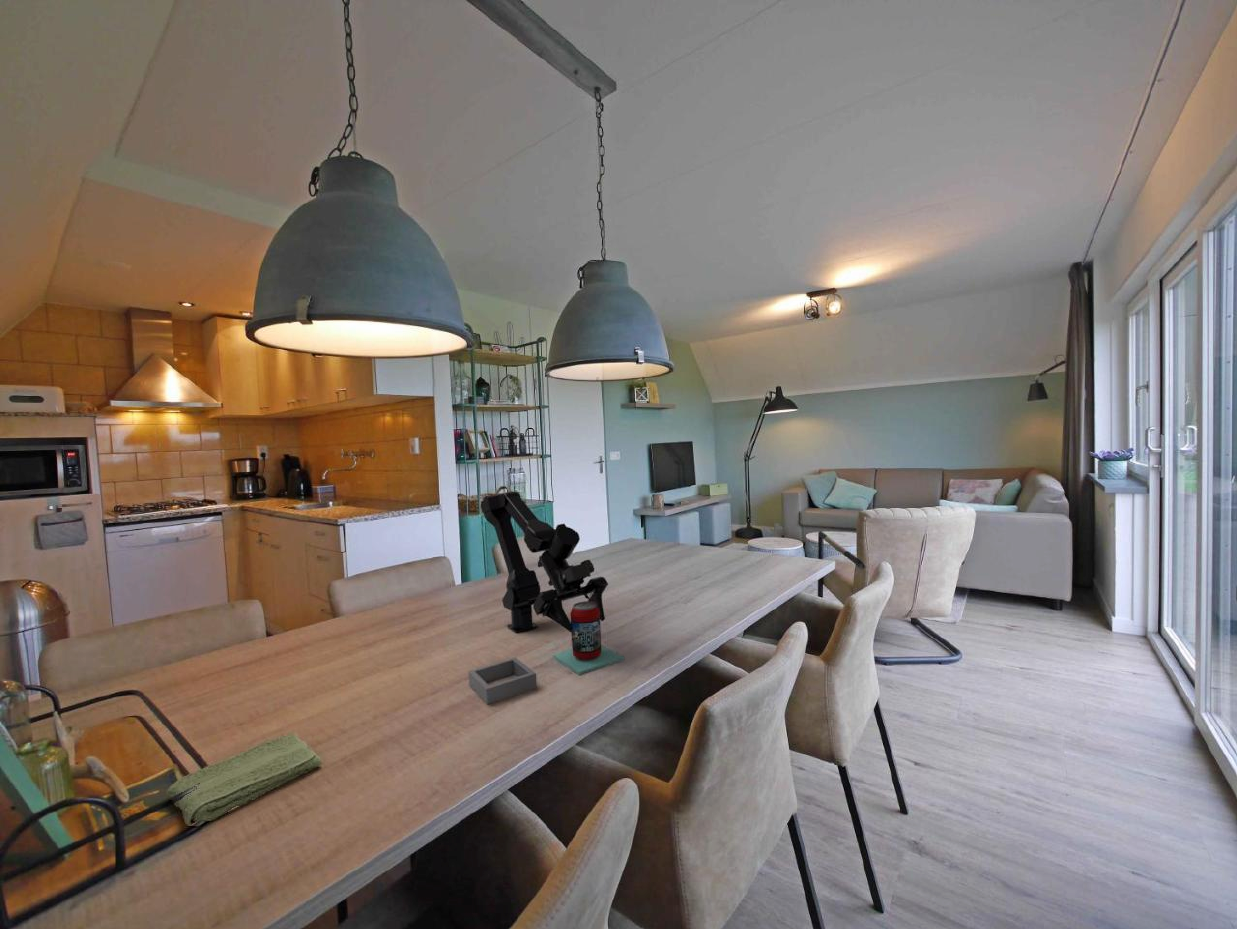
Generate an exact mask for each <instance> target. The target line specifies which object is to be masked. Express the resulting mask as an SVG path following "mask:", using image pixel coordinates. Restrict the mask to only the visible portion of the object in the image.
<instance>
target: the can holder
mask: <svg viewBox="0 0 1237 929" xmlns="http://www.w3.org/2000/svg"><path fill="white" fill-rule="evenodd" d="M467 672H468V684H469V687H471V689H472V690H473V691H474V692H475V693H476V694H477V695H478V696H479V697H480V698H481V699H482V700H483V701H484V703H485V704H486V705H489V704H492V703H495V702H498V701H501V700H504V699H507V698H510V697H513V696H517V695H519V694H522V693H525V692H527V691H530V690H533V689H537V688H538V687H537V686H538V684H537V673H536V672H535V671H533V670H532V669H531V668H530V667H528V666H527V665H526V664H525V663H523V662H522V661H520V660H519V659H518V658H517V657H512V658H508V659H505V660H502V661H498V662H495V663H491V664H488V665H485V666H481V667H478V668H476V669H475V668H474V669H471V670H468V671H467ZM513 674H514V676H516V677H512V678H510V679H507V680H504V681H501V682H500V681H499V682H498V683H495V684H491V685H489V684H488V683H487V682H490V681H493V680H497V679H500V678H504V677H508V676H509V675H513Z"/></svg>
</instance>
